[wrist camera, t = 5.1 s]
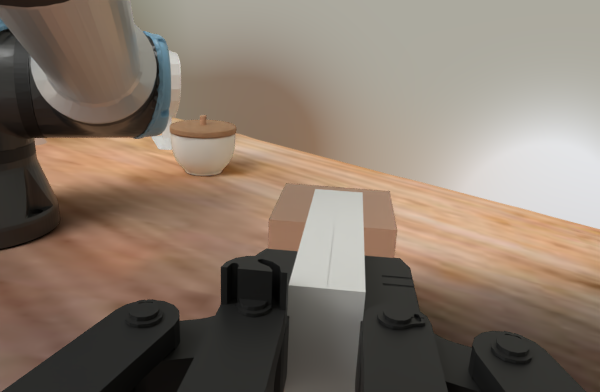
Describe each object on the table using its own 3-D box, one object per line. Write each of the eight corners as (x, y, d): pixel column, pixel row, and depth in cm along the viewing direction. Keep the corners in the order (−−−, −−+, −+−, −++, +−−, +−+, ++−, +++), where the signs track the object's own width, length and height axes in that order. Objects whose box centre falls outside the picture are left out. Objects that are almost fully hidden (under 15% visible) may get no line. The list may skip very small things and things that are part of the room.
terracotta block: (369, 466, 28) (397, 230, 23) (262, 453, 28) (268, 219, 24) (367, 392, 34) (389, 191, 29) (278, 382, 34) (285, 183, 30)
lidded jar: (206, 159, 93) (205, 108, 90) (249, 171, 87) (249, 116, 84) (157, 170, 85) (155, 114, 82) (201, 184, 78) (200, 124, 75)
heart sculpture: (186, 150, 99) (184, 54, 93) (160, 151, 97) (156, 53, 91) (173, 134, 112) (170, 49, 107) (149, 134, 110) (145, 48, 105)
